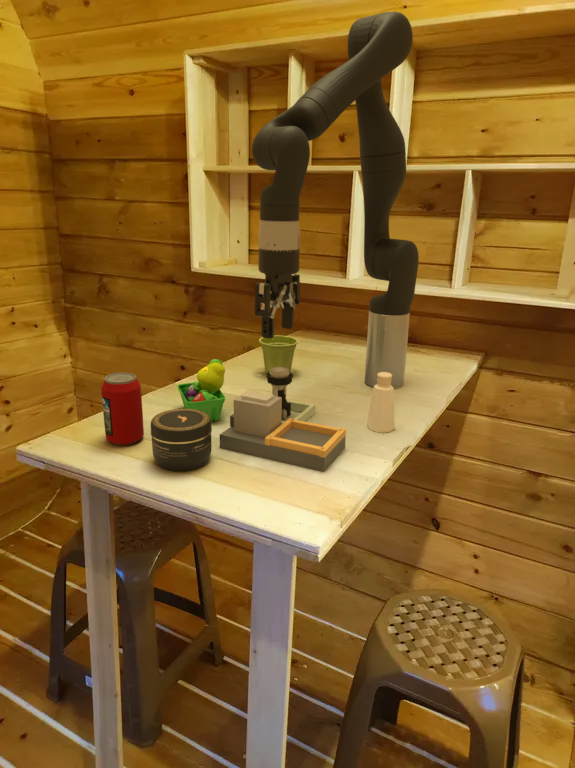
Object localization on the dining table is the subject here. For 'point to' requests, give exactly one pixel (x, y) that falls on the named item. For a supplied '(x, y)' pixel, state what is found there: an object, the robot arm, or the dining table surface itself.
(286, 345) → the plant pot
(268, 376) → the black and tan cylinder
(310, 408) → the parts tray
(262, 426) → the gray stepped base block
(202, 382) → the fruit basket
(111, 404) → the beverage can
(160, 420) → the jar
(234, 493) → the dining table surface
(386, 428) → the pepper shaker
